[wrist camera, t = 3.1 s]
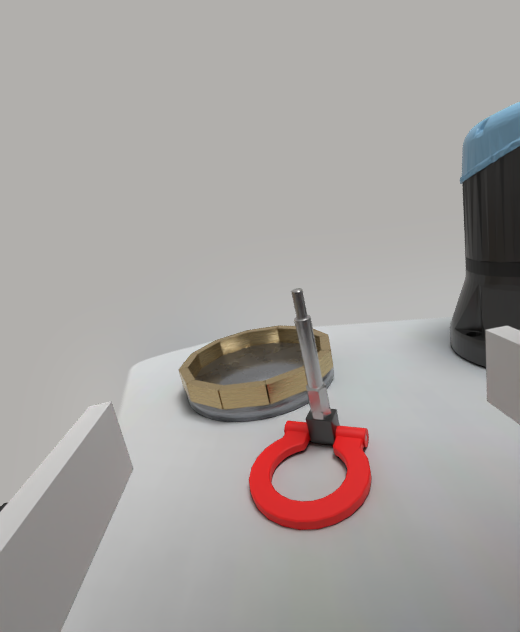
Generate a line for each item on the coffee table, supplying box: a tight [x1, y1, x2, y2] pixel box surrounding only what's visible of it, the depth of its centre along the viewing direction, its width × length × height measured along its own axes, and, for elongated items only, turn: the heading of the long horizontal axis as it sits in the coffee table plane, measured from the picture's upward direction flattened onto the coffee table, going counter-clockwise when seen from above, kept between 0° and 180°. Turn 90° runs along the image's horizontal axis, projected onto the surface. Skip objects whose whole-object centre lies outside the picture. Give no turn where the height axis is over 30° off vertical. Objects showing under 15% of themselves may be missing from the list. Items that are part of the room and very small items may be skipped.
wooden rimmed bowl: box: [179, 326, 334, 422], centre depth 41 cm, size 17×17×4 cm
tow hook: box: [249, 288, 371, 530], centre depth 24 cm, size 8×13×9 cm
